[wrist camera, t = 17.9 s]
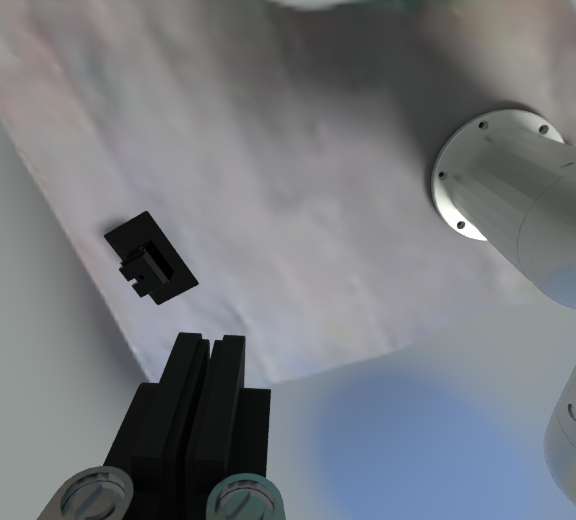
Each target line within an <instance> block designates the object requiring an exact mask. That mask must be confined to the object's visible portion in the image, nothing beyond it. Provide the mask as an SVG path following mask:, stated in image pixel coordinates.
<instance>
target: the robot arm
mask: <svg viewBox="0 0 576 520" xmlns="http://www.w3.org/2000/svg"><path fill="white" fill-rule="evenodd" d="M480 122H482V126H481V127H479V124H480ZM540 127H541V130H540V131H539V128H540ZM440 172H443V174H442V175H441V176H438V175H439V173H440ZM431 192H432V199H433V202H434V204H435V207H436V210H437V211H438V213H439V214H440V216H441V217H442V219H443V220H444V221H445V222H446V223H447V224H448V225H449V226H450V227H451V228H452V229H453V230H455V231H456V232H457V233H459V234H462V235H464V236H466V237H468V238H472V239H476V240H483V241H489V242H490V243H491V244H492V245H493V246H494V247H495V248H496V249H497V250H498V251H499V252H500V253H501V254H502V255H503V256H504V257H505V258H506V259H507V260H508V261H509V262H510V263H511V264H513V265H514V266H515V267H516V268H517V269H518V270H519V271H520V272H521V273H522V274H523V275H524V276H525V277H526V278H527V279H528V280H529V281H530V282H531V283H533V284H534V285H535V286H536V287H537V288H538V289H539V290H540V291H541V292H542V293H543V294H545V295H546V296H547V297H549V298H550V299H552V300H553V301H555V302H557V303H559V304H561V305H563V306H566V307H569V308H572V309H576V147H573V146H570V145H567V144H565V142H564V140H563V138H562V136H561V134H560V133H559V131H558V130H557V129H556V128H555V127H554V126H553V124H551V123H550V122H549V121H547V120H546V119H544V118H543V117H541V116H539V115H536V114H534V113H531V112H528V111H524V110H518V109H502V110H494V111H491V112H488V113H485V114H482V115H479V116H477V117H476V118H474V119H472V120H470V121H468V122H467V123H465V124H464V125H463V126H461V127H460V128H459V129H458V130H456V131H455V133H454V134H453V135H452V136H451V137H450V138H449V139H448V140H447V141H446V143H445V144H444V146H443V147H442V149H441V150H440V152H439V154H438V157H437V159H436V161H435V163H434V167H433V172H432V176H431ZM459 221H460V223H459V224H457V223H458V222H459ZM244 373H245V336H237V335H224V337H223V340H215V342H214V346H213V350H212V354H211V358H210V342H209V340H207V339H202V334H201V333H184V332H180V333H179V334H178V336H177V339H176V341H175V344H174V346H173V349H172V351H171V354H170V356H169V359H168V361H167V364H166V367H165V369H164V372H163V374H162V377H161V379H160V382H159V383H144V382H143V383H141V384H140V386H139V387H138V389H137V391H136V394H135V396H134V398H133V400H132V402H131V405H130V407H129V409H128V411H127V413H126V416H125V418H124V420H123V422H122V425H121V427H120V429H119V431H118V434H117V436H116V438H115V440H114V442H113V444H112V447H111V449H110V451H109V453H108V455H107V458H106V460H105V462H104V464H103V466H99V467H94V468H89V469H86V470H84V471H81V472H79V473H77V474H76V475H74V476H72V477H71V478H70V479H68V480H67V481H66V482H65V483H64V484H63V485H62V486H61V487H60V488H59V489H58V490H57V492H56V493H55V495H54V496H53V497H52V499H51V500H50V501H49V503H48V504H47V506H46V507H45V508H44V510H43V511H42V513H41V514H40V516H39V517H38V518H37V520H286V518H285V512H284V505H283V500H282V497H281V494H280V492H279V490H278V489H277V487H276V486H275V485H274V484H273V483H272V482H271V481H269V480H268V479H266V465H267V448H268V432H269V414H270V398H271V390H270V389H255V388H244ZM543 446H544V457H545V461H546V464H547V468H548V470H549V472H550V474H551V476H552V478H553V480H554V481H555V483H556V485H557V486H558V487H559V489H560V490H561V492H562V493H563V494H564V495H565V497H566V498H567V499H568V500H569V501H570V502H571V503H572V504H573V506H574V507H575V508H576V365H575V368H574V370H573V372H572V374H571V376H570V378H569V380H568V382H567V384H566V386H565V388H564V390H563V392H562V394H561V396H560V398H559V400H558V402H557V404H556V406H555V408H554V410H553V413H552V415H551V417H550V420H549V422H548V425H547V428H546V431H545V436H544V444H543Z"/></svg>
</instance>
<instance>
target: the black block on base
mask: <svg viewBox="0 0 576 520" xmlns="http://www.w3.org/2000/svg"><path fill="white" fill-rule="evenodd" d="M104 237H105V239H106V240H107V241H108V243H109V244H110V245H111V246H112V248H113V249H114V250H115V252H116V253H117V254H118V255H119V257H120V258H121V259H122V261H121V263H120V264H121V265H122V266H121V267H120V268H119V271H120V272H121V273H122V274H123V276H124V277H125V278H126V280H127V281H130V280H132V279H134V278H135V280H136V281H137V282H136V283H134V284H133V285H132V287H133V288H134V290H135V291H136V292H137V294H138V295H139V296H140V297H141V298H142V297H143V296H145V295H147V294H149V295H150V296H151V298H152V299H153V300H154V301H155V303H156V304H157V305H160V304H162V303H163V302H165V301H167V300H169V299H171V298H173V297H175V296H177V295H179V294H181V293H183V292H185V291H187V290H189V289H191V288H193V287H195V286H197V285H198V284H199V283H198V281H197V280H196V278H195V277H194V276H193V274H192V273H191V271H190V270H189V269H188V267H187V266H186V264H185V263H184V262H183V260H182V259H181V257H180V256H179V255H178V253H177V252H176V250H175V249H174V247H173V246H172V245H171V243H170V242H169V240H168V239H167V238H166V236H165V235H164V233H163V232H162V231H161V229H160V228H159V226H158V225H157V224H156V222H155V221H154V219H153V218H152V216H151V215H150V214H149V212H148V211H145V212H143V213H141V214H140V215H138V216H136V217H134V218H133V219H131V220H129V221H128V222H126V223H124V224H123V225H121V226H119V227H117V228H116V229H114V230H112V231H111V232H109V233H107V234H105V235H104Z"/></svg>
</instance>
